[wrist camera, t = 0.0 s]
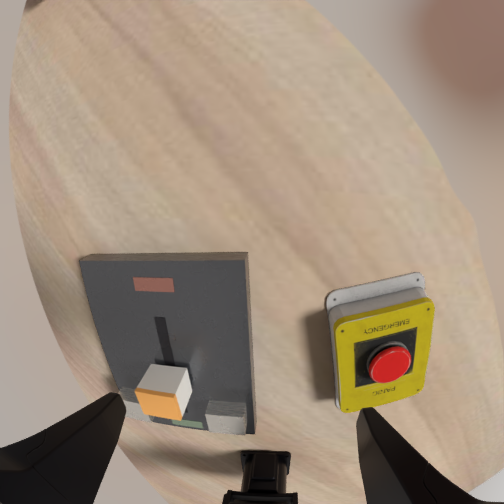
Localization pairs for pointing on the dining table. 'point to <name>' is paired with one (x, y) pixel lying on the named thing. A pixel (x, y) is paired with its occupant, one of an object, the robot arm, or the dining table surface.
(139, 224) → the dining table surface
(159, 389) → the block
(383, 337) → the emergency button
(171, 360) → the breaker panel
